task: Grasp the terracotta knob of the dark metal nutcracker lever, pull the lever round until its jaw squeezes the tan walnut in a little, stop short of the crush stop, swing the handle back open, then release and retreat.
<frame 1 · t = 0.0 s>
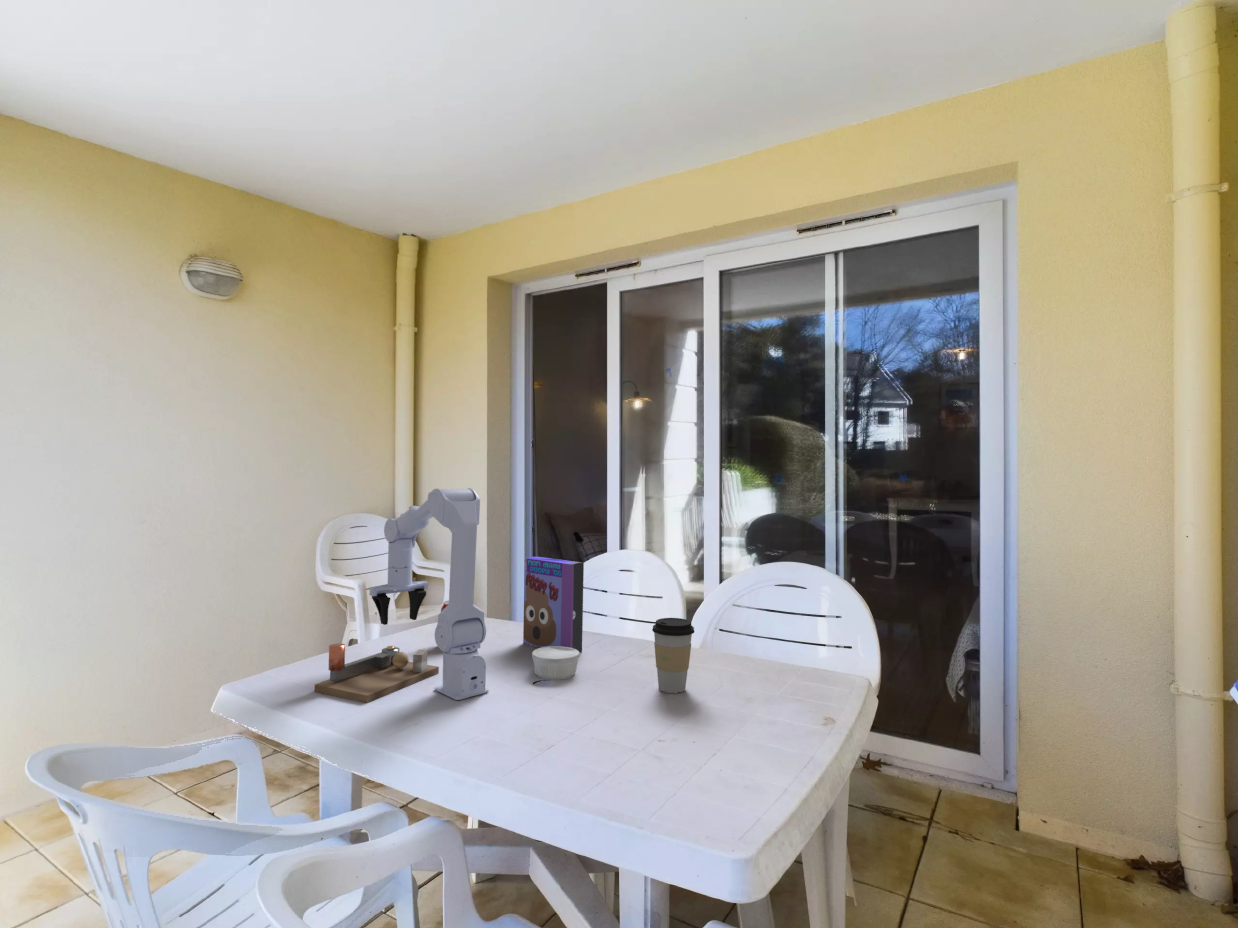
hand: (398, 621, 160), 10 cm above the table, fingers open, 7 cm apart
lever: (366, 653, 147), point 6 cm above the table, hinge at 0.0°
ramekin: (555, 674, 153), on the table
coffee cup: (672, 689, 144), on the table
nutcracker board: (390, 669, 154), on the table
cereal box: (552, 648, 176), on the table
soda can: (453, 646, 175), on the table
walnut: (400, 659, 150), point 4 cm above the table, slide at 0.0 cm
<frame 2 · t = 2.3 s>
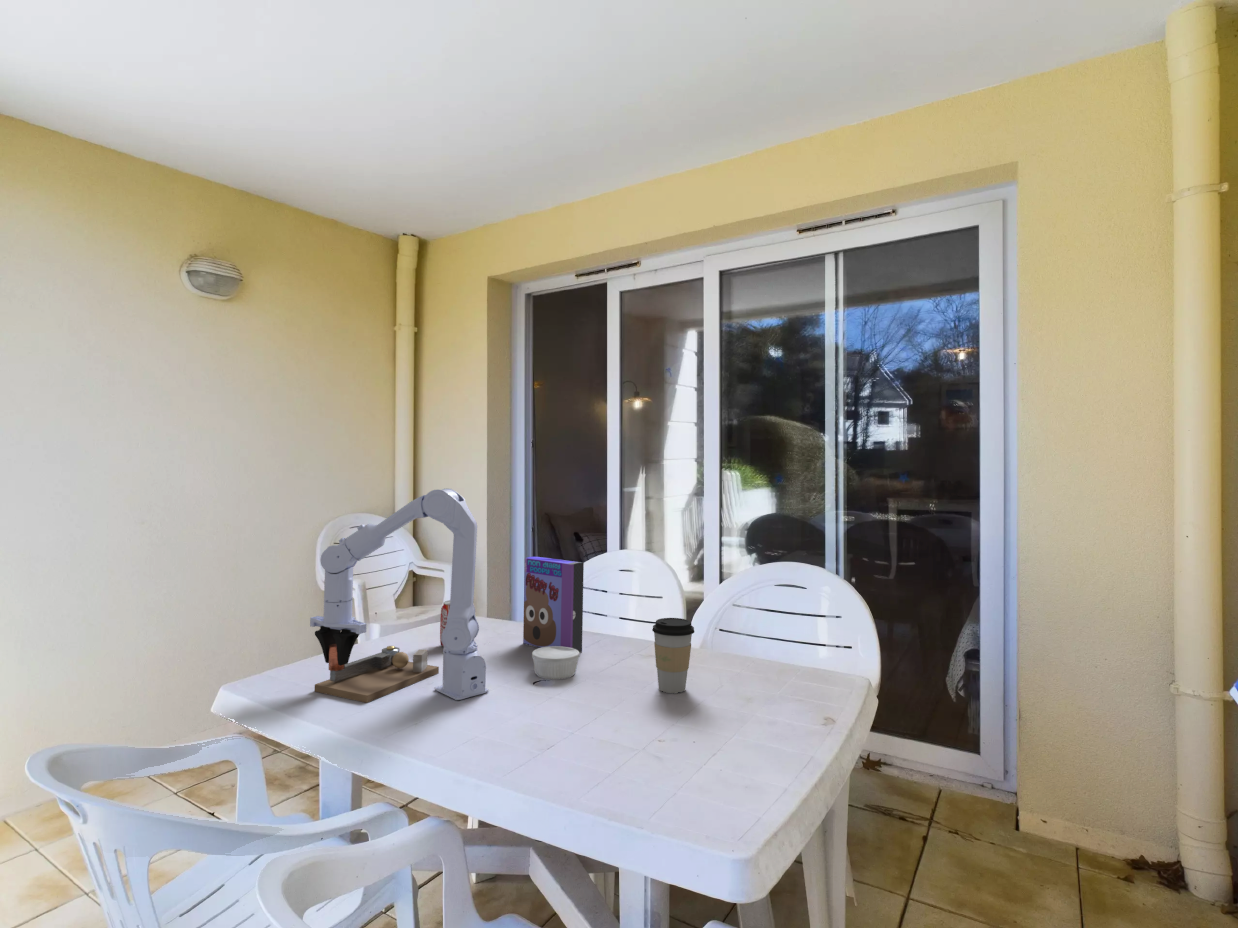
hand: (336, 662, 139), 6 cm above the table, fingers closed on lever, 3 cm apart
lever: (366, 653, 147), point 6 cm above the table, hinge at 0.0°, touching gripper
everything else where it was.
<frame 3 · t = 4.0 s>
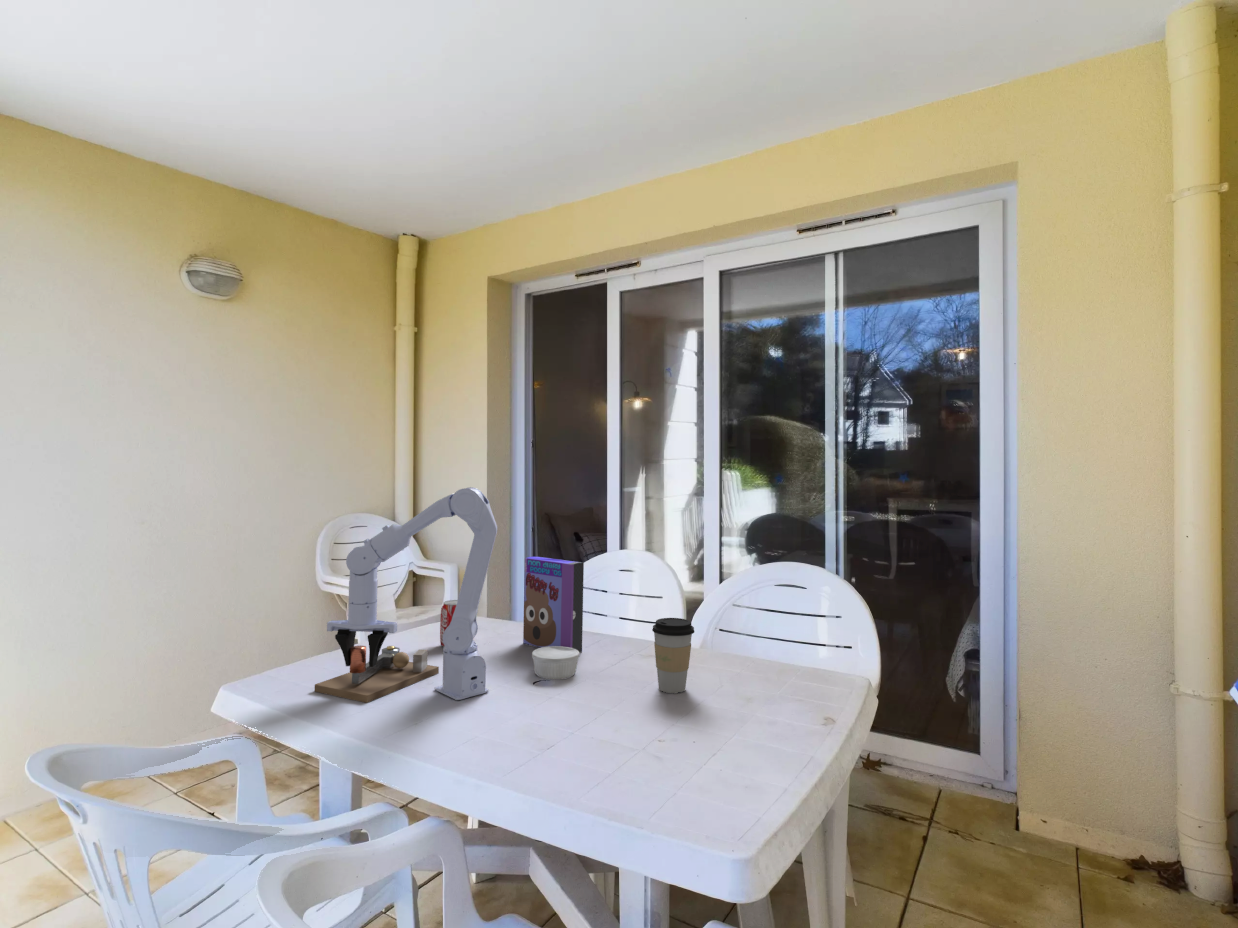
hand: (361, 665, 138), 6 cm above the table, fingers open, 4 cm apart
lever: (376, 654, 146), point 6 cm above the table, hinge at 19.1°, touching gripper
everything else where it was.
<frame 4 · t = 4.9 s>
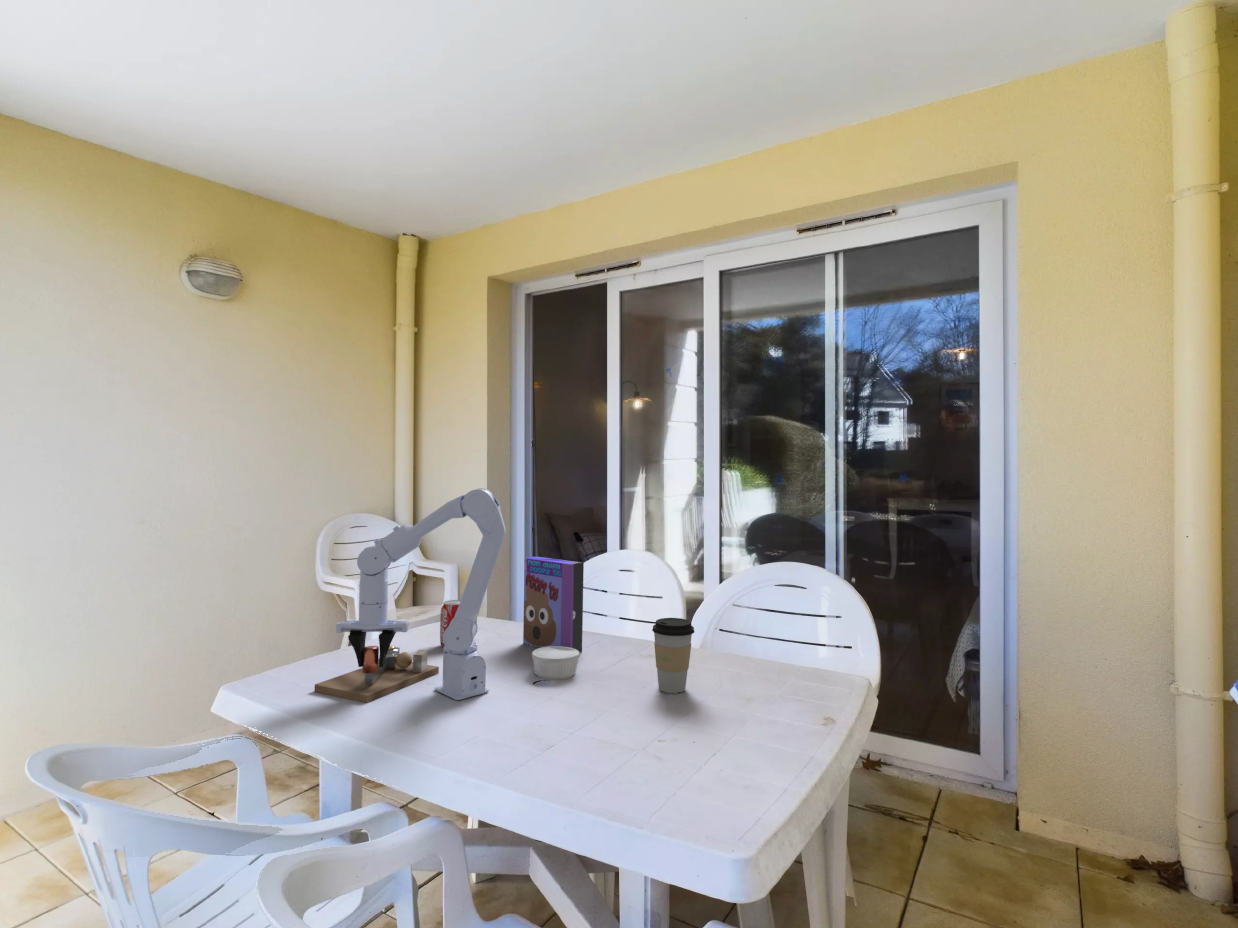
hand: (371, 665, 138), 6 cm above the table, fingers open, 4 cm apart
lever: (382, 654, 146), point 6 cm above the table, hinge at 28.8°, touching gripper
walnut: (404, 659, 150), point 4 cm above the table, slide at 0.8 cm
everything else where it was.
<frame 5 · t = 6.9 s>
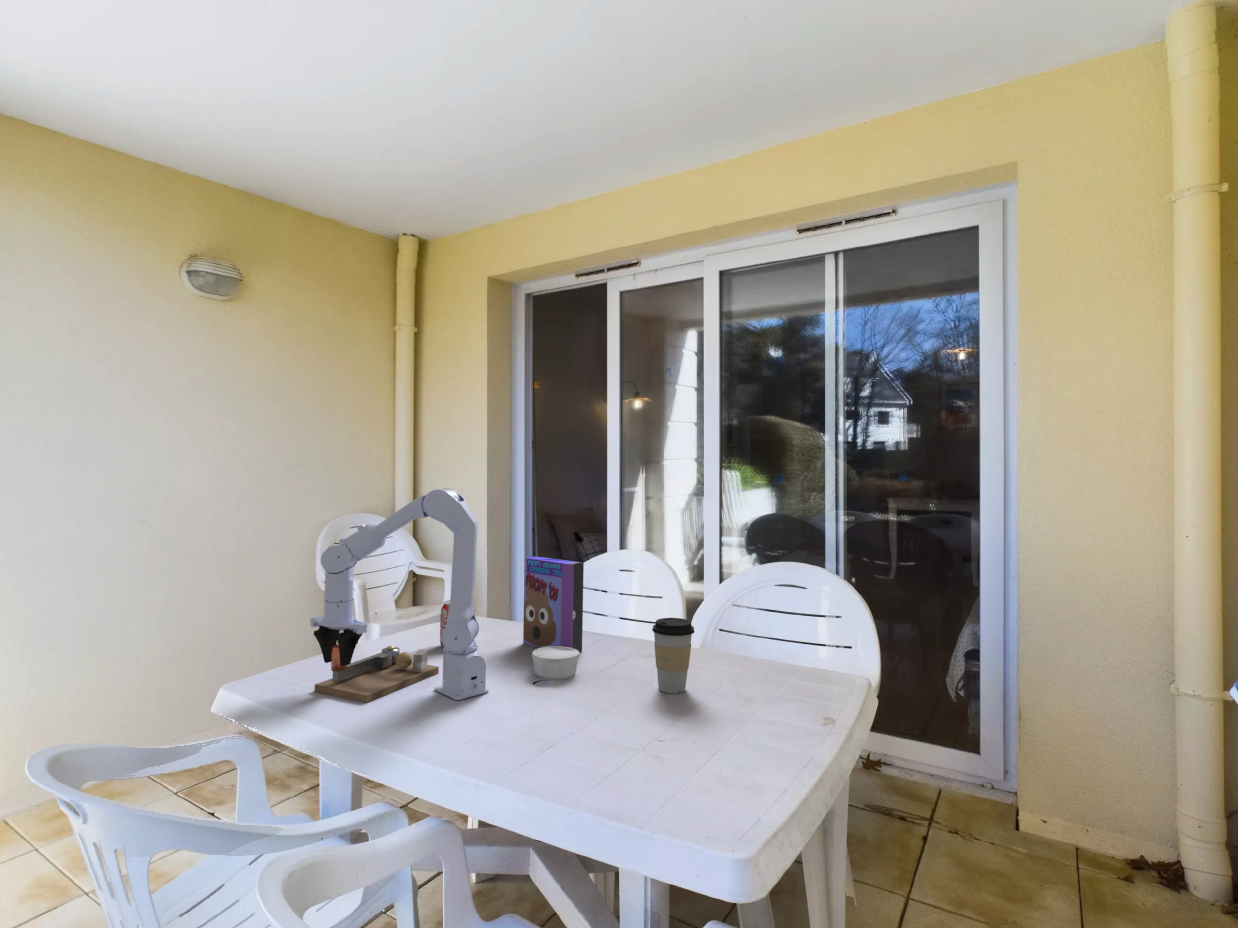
hand: (337, 663, 139), 6 cm above the table, fingers open, 4 cm apart
lever: (367, 654, 147), point 6 cm above the table, hinge at 2.7°, touching gripper
everything else where it was.
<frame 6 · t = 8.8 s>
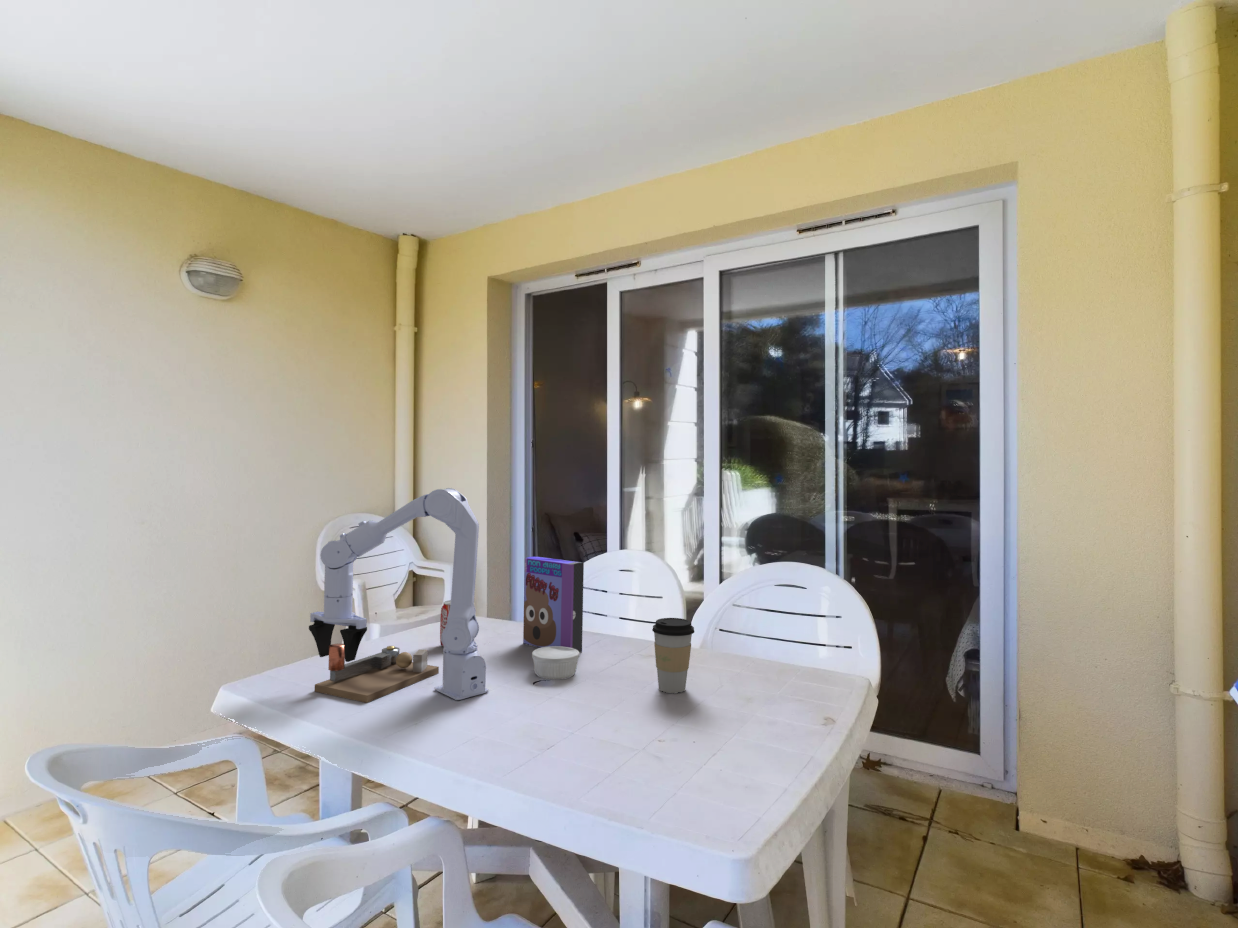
hand: (337, 658, 139), 7 cm above the table, fingers open, 7 cm apart
lever: (366, 653, 147), point 6 cm above the table, hinge at -0.1°
everything else where it was.
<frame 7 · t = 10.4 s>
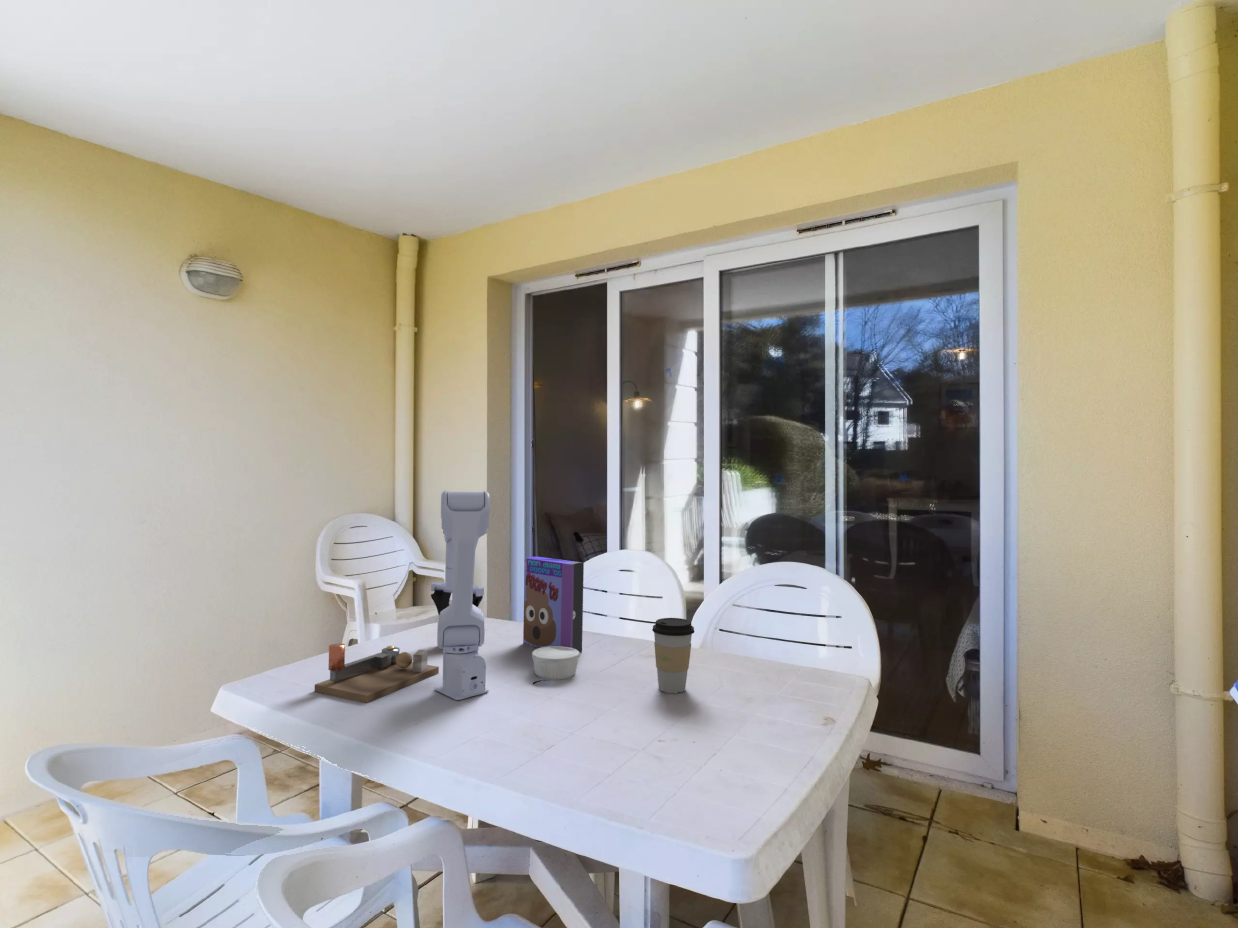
hand: (456, 622, 158), 10 cm above the table, fingers open, 7 cm apart
nothing on the table moved.
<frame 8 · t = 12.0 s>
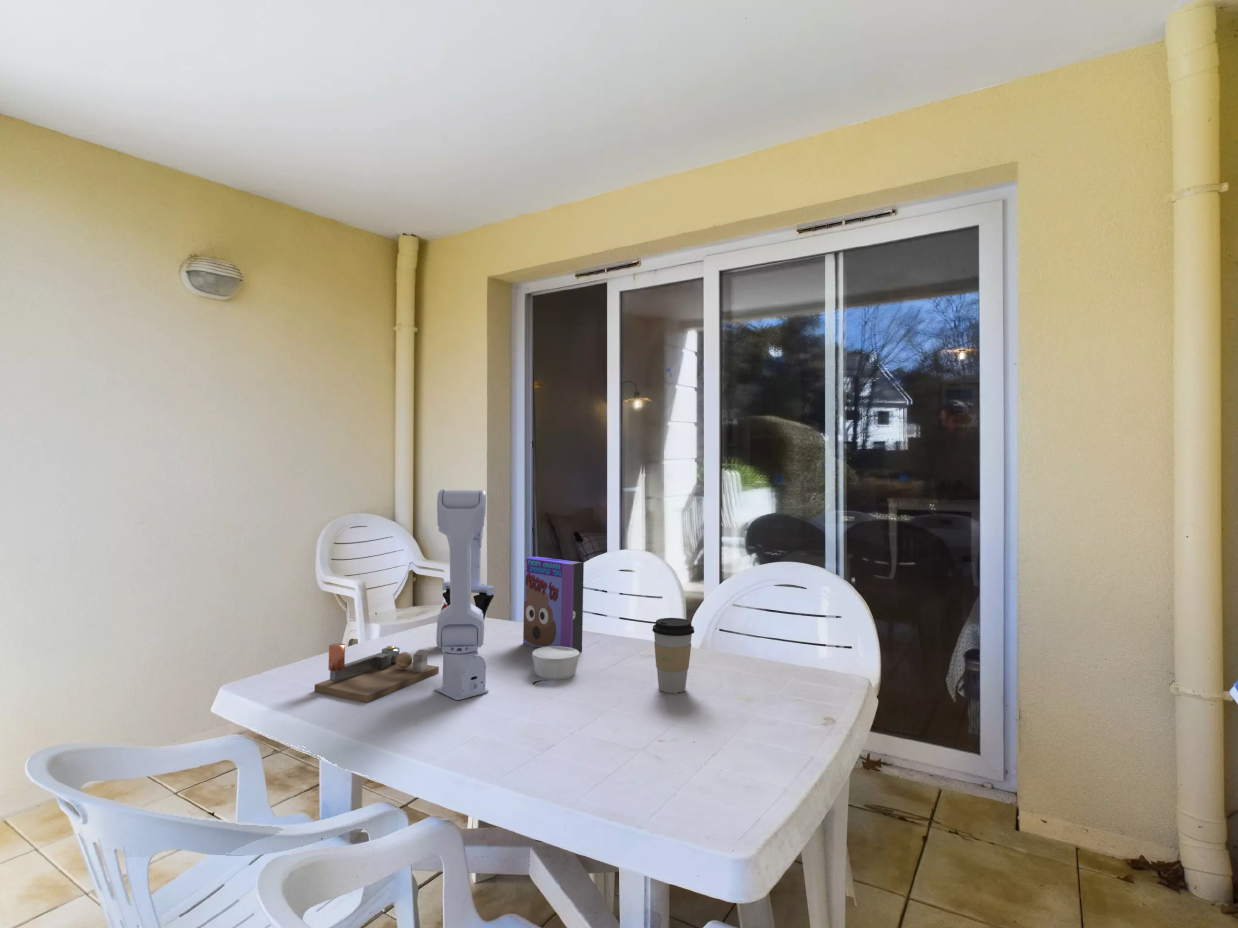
hand: (467, 621, 160), 10 cm above the table, fingers open, 7 cm apart
nothing on the table moved.
at the end: walnut slide at 0.8 cm; lever at +0° (first picture: +0°); the gripper is holding nothing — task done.
